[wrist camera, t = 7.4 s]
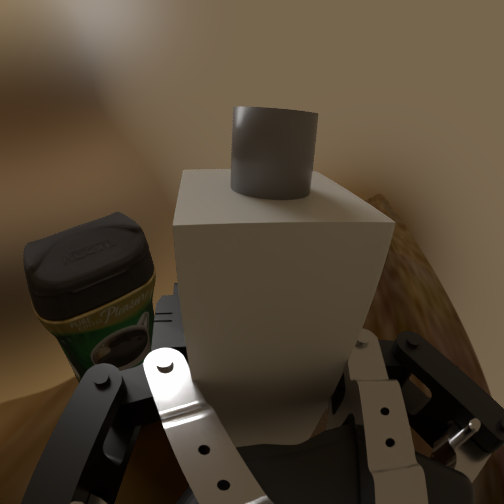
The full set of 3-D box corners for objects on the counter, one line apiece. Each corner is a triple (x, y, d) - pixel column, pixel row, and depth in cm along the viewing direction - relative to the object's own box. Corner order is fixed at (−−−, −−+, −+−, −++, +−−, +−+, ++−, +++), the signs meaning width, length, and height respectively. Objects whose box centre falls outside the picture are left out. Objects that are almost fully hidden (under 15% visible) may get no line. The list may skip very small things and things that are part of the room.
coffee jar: (151, 353, 30) (120, 196, 21) (193, 398, 25) (170, 225, 16) (82, 390, 23) (12, 232, 15) (116, 445, 19) (16, 282, 10)
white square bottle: (210, 465, 10) (170, 104, 4) (201, 394, 14) (183, 108, 8) (301, 451, 11) (412, 131, 5) (279, 385, 15) (322, 115, 8)
